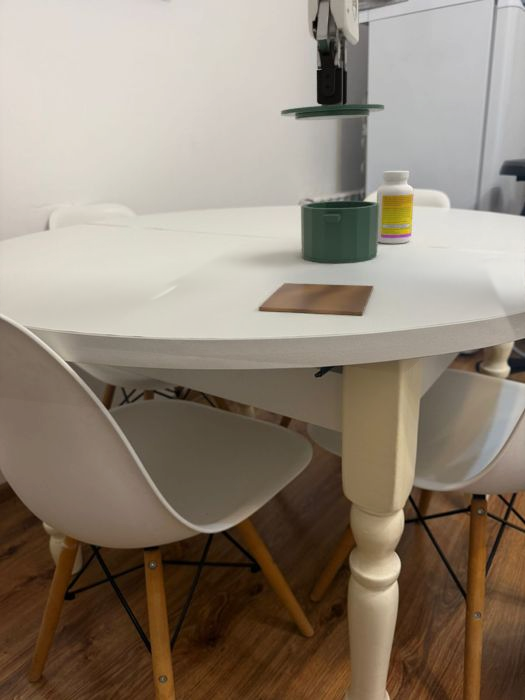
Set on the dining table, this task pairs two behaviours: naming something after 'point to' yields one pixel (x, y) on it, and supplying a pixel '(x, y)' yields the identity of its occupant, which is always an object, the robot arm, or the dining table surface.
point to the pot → (339, 231)
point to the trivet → (319, 299)
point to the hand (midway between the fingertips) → (332, 102)
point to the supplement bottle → (395, 208)
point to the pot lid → (333, 110)
